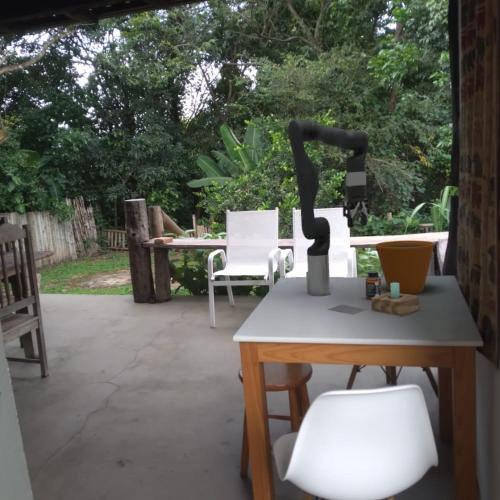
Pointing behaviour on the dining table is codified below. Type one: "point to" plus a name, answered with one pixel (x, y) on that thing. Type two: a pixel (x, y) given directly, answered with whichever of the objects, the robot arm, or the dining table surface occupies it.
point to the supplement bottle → (373, 285)
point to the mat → (347, 309)
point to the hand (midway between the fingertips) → (357, 226)
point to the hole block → (395, 304)
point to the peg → (395, 290)
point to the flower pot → (405, 263)
